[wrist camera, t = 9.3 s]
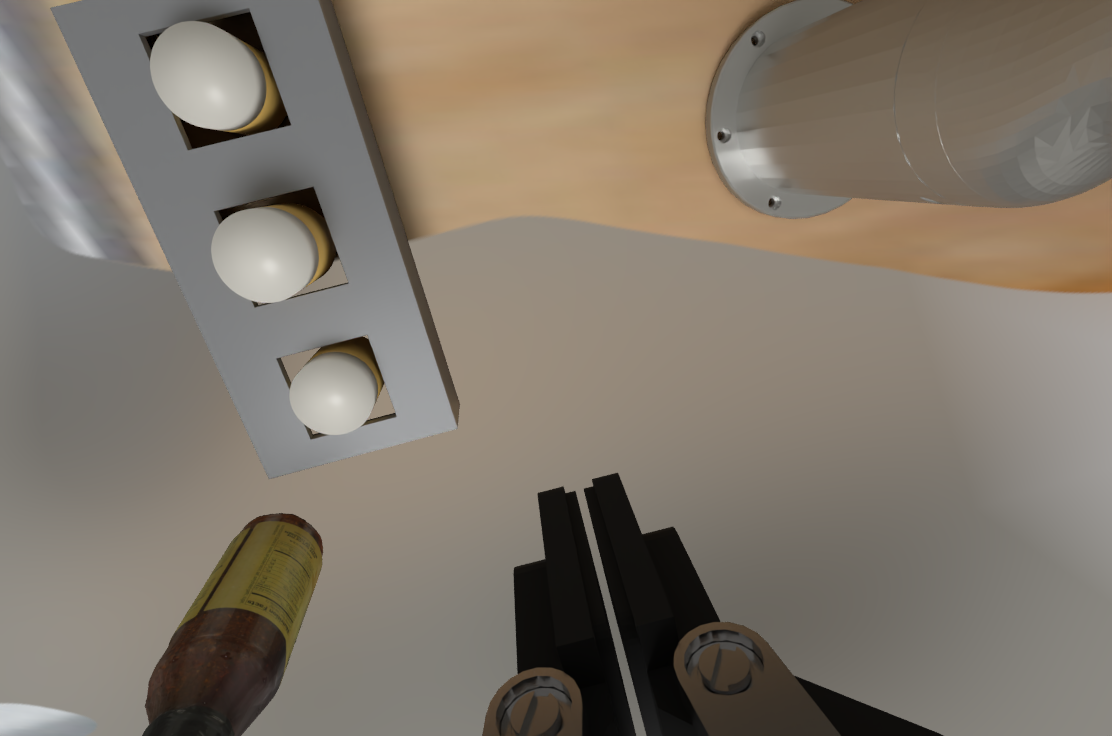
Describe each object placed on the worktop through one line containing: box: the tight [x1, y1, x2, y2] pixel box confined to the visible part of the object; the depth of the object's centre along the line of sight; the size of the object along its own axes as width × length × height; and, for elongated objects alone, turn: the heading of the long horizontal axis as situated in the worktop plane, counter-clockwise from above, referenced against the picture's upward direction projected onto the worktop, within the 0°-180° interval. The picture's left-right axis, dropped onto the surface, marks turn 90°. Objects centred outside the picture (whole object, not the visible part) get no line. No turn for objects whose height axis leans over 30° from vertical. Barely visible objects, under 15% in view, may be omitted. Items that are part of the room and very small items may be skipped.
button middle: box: [211, 203, 336, 303], centre depth 31 cm, size 5×5×6 cm
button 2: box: [289, 336, 385, 435], centre depth 36 cm, size 5×5×6 cm
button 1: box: [150, 21, 287, 135], centre depth 30 cm, size 5×5×6 cm
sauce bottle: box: [142, 513, 323, 736], centre depth 33 cm, size 6×6×20 cm
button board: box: [51, 0, 460, 479], centre depth 34 cm, size 12×26×4 cm, turn 13°
